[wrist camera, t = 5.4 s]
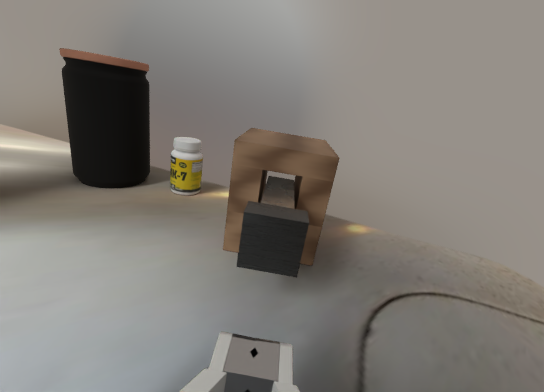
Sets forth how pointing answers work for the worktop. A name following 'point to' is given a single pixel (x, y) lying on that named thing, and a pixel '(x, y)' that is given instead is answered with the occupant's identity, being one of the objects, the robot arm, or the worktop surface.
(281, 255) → the plunger
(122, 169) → the coffee jar
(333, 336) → the worktop surface
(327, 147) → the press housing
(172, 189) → the supplement bottle
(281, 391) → the robot arm
